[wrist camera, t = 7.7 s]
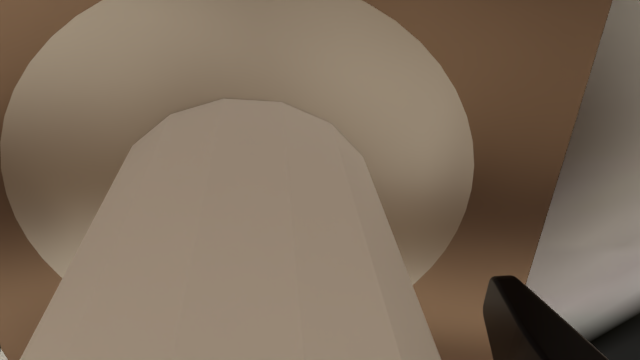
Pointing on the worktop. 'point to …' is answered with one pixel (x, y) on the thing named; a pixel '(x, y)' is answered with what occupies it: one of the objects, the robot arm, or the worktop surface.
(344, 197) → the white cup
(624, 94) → the worktop surface
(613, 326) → the worktop surface
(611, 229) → the worktop surface
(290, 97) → the serving board
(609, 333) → the worktop surface
